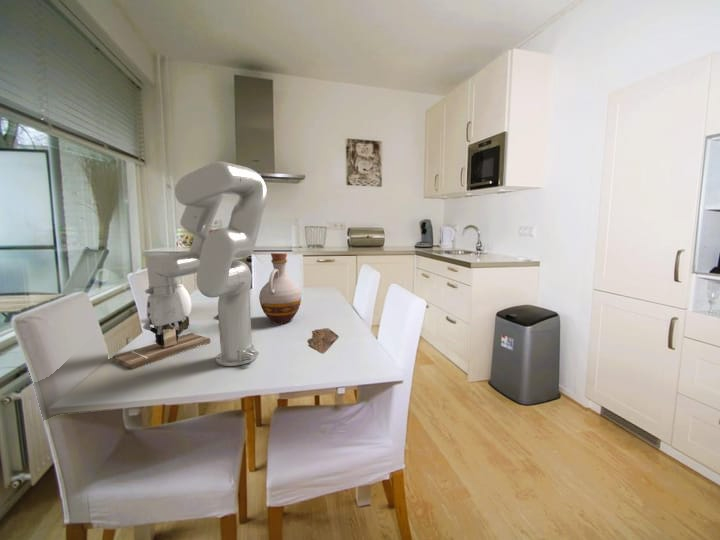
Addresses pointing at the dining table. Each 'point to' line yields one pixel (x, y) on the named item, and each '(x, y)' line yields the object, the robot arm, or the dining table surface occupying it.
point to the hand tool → (184, 325)
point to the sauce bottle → (184, 299)
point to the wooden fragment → (322, 339)
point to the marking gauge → (169, 335)
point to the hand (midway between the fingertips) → (167, 342)
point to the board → (159, 351)
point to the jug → (280, 293)
